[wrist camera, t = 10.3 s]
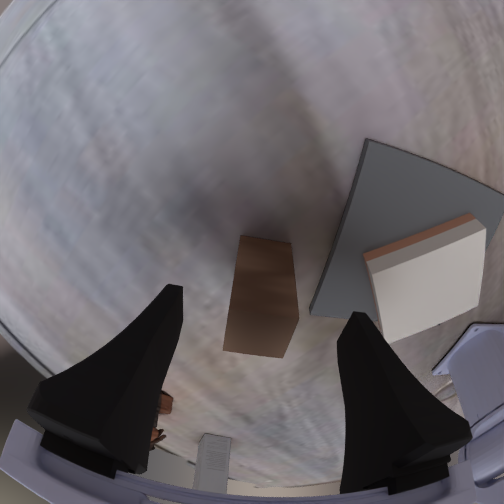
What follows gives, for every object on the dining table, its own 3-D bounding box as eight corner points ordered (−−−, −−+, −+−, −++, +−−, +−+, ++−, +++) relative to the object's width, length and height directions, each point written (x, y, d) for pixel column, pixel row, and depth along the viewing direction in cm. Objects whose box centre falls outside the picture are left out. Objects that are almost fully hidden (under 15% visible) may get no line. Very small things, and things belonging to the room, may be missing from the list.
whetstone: (466, 288, 17) (469, 212, 14) (477, 305, 16) (486, 228, 12) (378, 324, 20) (362, 253, 16) (385, 344, 18) (371, 274, 15)
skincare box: (223, 446, 39) (217, 509, 29) (198, 442, 39) (189, 505, 29) (232, 437, 36) (225, 508, 26) (204, 432, 35) (194, 504, 25)
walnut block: (291, 243, 17) (299, 318, 12) (280, 282, 19) (282, 358, 14) (240, 235, 17) (229, 308, 12) (234, 275, 18) (222, 350, 13)
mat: (504, 195, 14) (509, 198, 13) (437, 320, 20) (439, 325, 20) (366, 138, 13) (369, 140, 13) (309, 308, 20) (309, 314, 19)
